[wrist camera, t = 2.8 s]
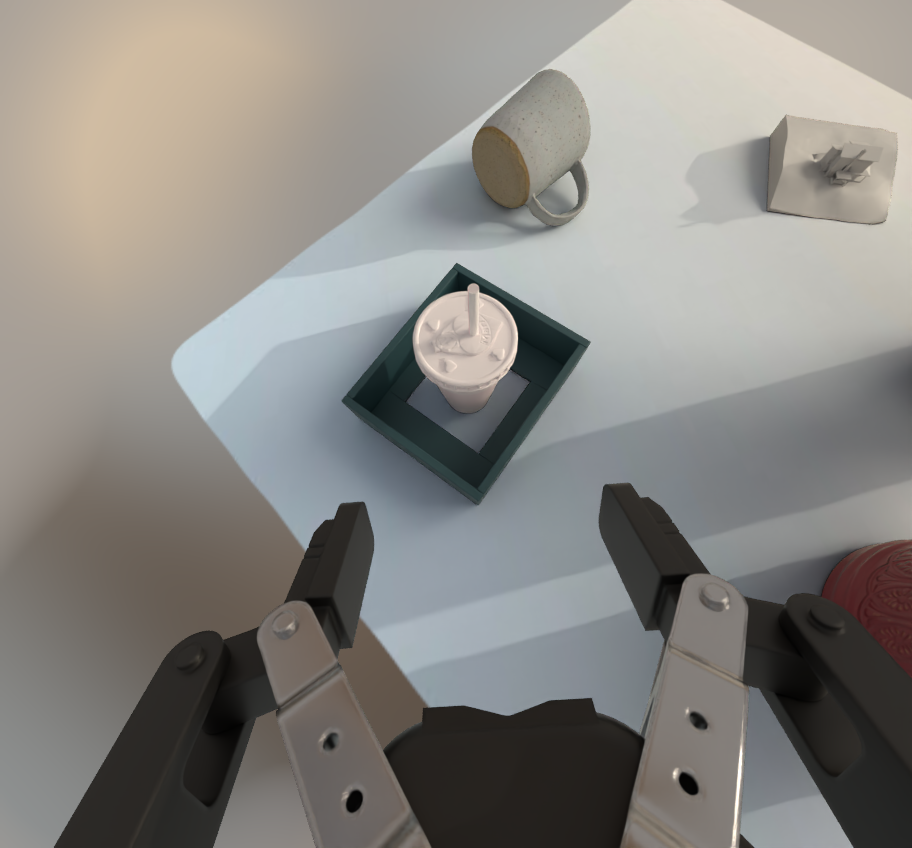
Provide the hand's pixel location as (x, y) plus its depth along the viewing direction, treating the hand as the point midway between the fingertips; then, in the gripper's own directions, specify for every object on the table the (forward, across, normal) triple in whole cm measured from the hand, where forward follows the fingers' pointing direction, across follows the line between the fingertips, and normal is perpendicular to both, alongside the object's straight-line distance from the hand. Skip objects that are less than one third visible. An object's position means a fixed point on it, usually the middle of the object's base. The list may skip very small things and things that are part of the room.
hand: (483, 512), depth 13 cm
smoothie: (+19, 0, +4) cm, 20 cm away
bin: (+19, 0, +4) cm, 20 cm away
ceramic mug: (+34, -8, -10) cm, 36 cm away
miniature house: (+32, -35, -9) cm, 49 cm away
